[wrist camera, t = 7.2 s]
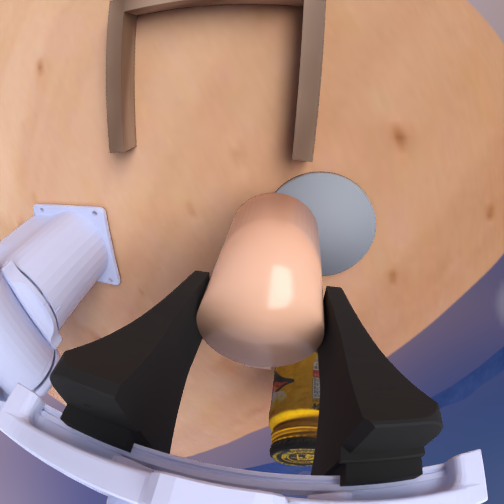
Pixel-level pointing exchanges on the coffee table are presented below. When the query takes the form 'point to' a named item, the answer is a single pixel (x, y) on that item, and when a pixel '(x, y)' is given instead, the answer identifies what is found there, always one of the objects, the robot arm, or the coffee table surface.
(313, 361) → the condiment
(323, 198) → the coaster
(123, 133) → the holder
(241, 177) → the coffee table surface
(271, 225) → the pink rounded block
